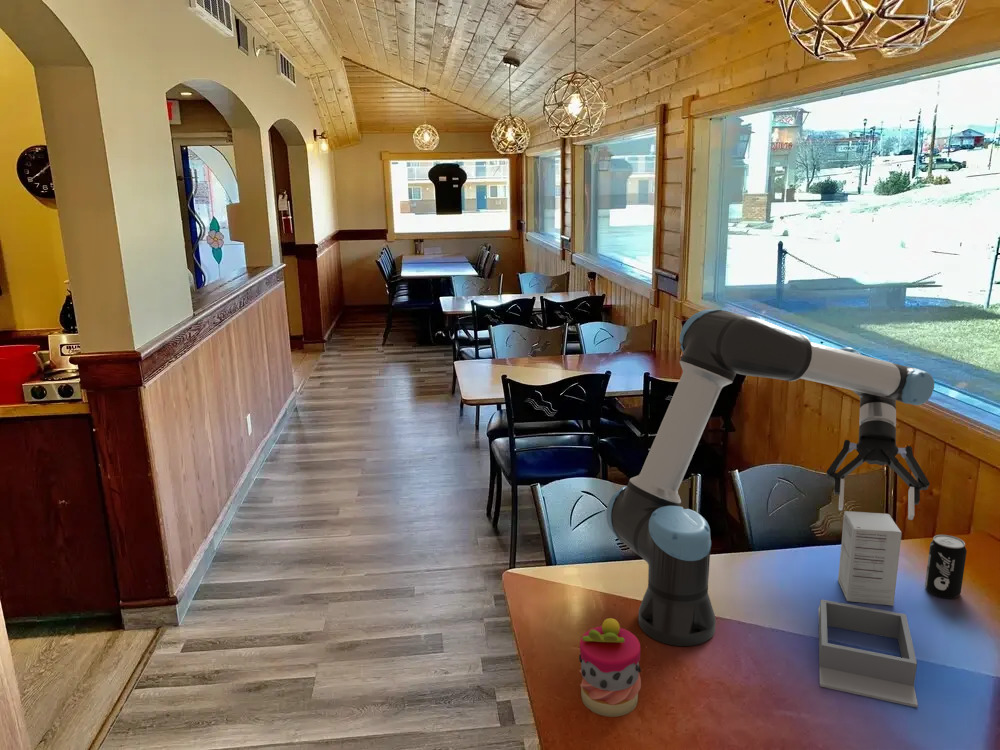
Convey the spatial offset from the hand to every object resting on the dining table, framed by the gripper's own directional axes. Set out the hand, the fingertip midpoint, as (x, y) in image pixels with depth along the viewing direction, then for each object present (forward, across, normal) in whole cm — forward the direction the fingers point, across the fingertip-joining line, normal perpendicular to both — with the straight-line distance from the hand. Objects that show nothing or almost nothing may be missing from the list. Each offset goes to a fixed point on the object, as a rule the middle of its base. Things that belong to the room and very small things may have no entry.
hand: (875, 512), depth 154 cm
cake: (+53, +44, +30) cm, 74 cm away
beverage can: (+12, -14, -12) cm, 22 cm away
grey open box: (+32, +3, +9) cm, 33 cm away
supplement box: (+16, +1, -7) cm, 17 cm away
